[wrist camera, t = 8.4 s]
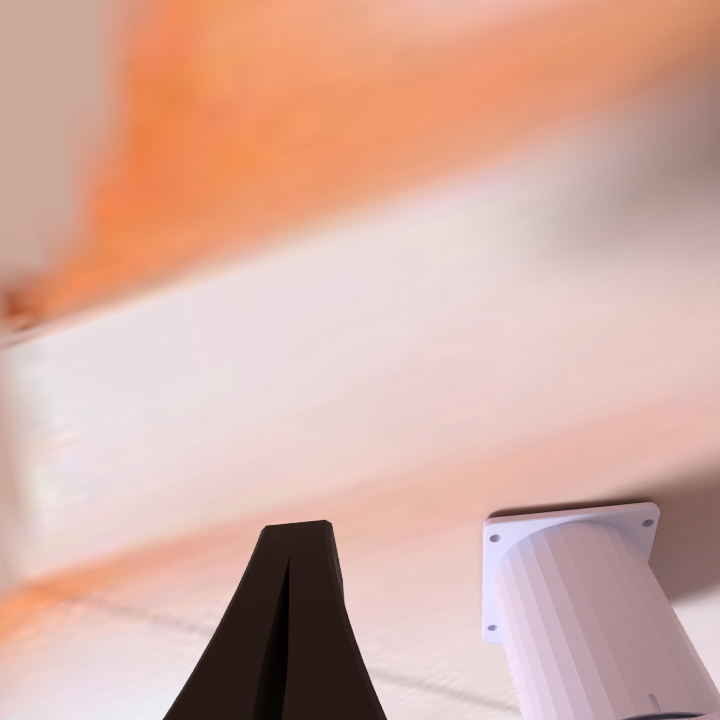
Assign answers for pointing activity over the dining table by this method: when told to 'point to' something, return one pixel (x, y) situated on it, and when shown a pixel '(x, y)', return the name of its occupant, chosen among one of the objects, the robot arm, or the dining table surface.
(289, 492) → the dining table surface
